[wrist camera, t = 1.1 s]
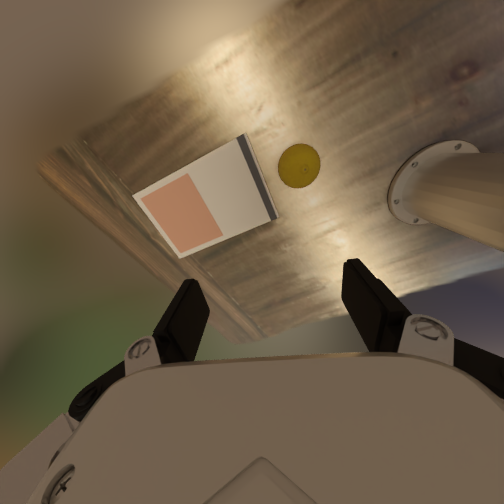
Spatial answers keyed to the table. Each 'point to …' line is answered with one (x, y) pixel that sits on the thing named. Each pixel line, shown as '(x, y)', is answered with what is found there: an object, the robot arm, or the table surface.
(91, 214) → the table surface
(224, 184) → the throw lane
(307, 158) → the lemon
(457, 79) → the table surface
